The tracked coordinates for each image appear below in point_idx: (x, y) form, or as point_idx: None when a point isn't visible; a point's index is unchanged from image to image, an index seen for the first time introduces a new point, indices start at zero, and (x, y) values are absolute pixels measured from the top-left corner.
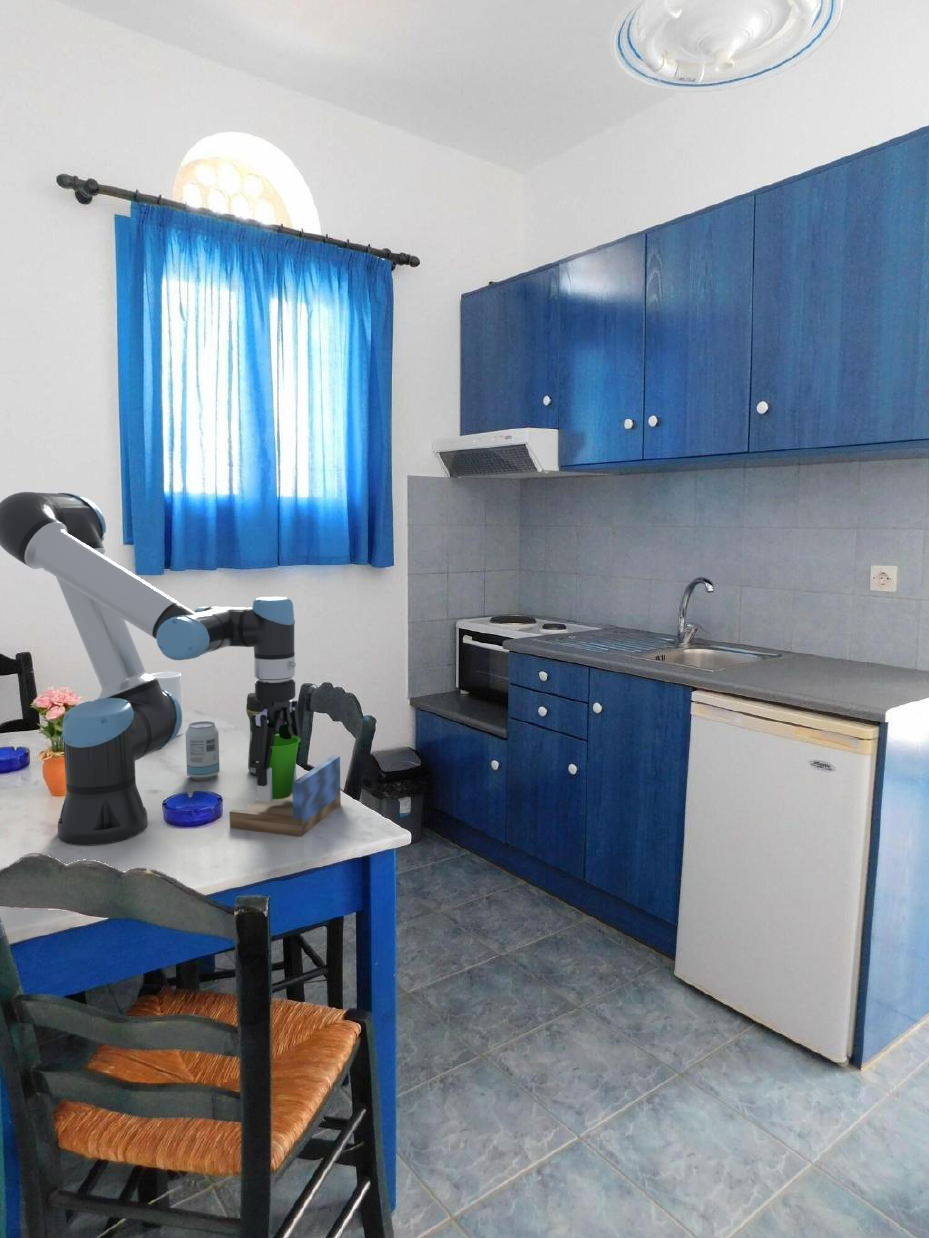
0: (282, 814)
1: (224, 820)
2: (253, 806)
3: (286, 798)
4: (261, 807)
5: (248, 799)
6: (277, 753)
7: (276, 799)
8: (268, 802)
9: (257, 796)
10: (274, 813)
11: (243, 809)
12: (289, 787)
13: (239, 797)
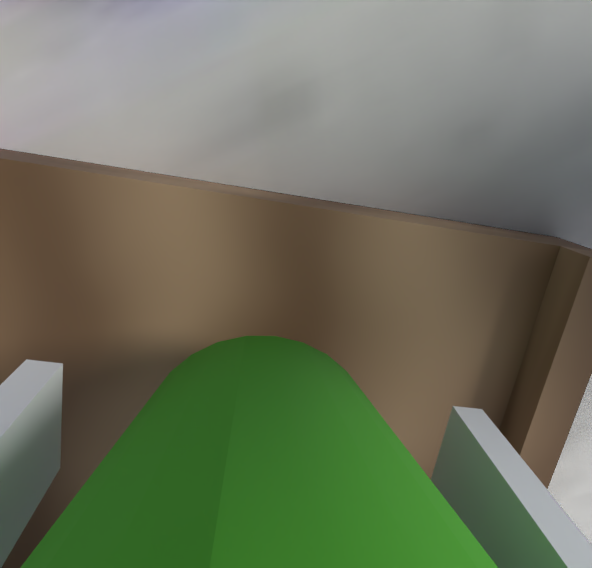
0: (89, 471)
1: (90, 41)
2: (193, 236)
3: (382, 396)
4: (185, 300)
5: (522, 58)
6: None
7: (355, 343)
8: (290, 312)
9: (8, 379)
10: (94, 421)
11: (117, 184)
12: None
13: None
